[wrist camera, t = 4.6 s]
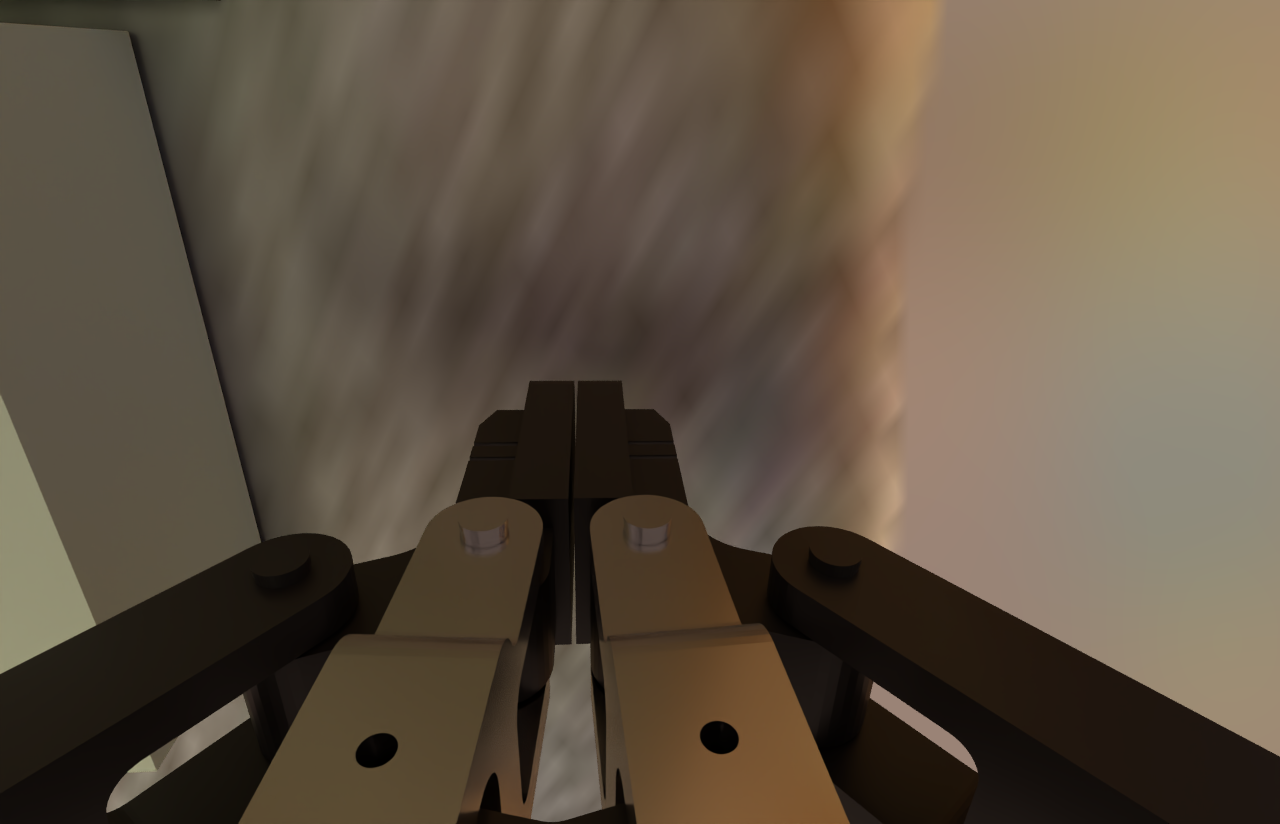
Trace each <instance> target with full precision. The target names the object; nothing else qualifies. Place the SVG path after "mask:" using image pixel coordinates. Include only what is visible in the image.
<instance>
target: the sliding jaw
mask: <svg viewBox="0 0 1280 824" xmlns="http://www.w3.org/2000/svg"><path fill="white" fill-rule="evenodd" d="M259 543H261V540H260V536H259V532H258V528H257V524H256V521H255V517H254V513H253V509H252V505H251V501H250V498H249V494H248V490H247V486H246V482H245V478H244V475H243V471H242V467H241V463H240V459H239V455H238V451H237V448H236V444H235V440H234V436H233V432H232V428H231V425H230V421H229V417H228V413H227V409H226V405H225V401H224V398H223V394H222V390H221V386H220V382H219V378H218V375H217V371H216V367H215V363H214V359H213V355H212V351H211V348H210V344H209V340H208V336H207V332H206V328H205V325H204V321H203V317H202V313H201V309H200V305H199V302H198V298H197V294H196V290H195V286H194V282H193V278H192V275H191V271H190V267H189V263H188V259H187V255H186V252H185V248H184V244H183V240H182V236H181V232H180V228H179V225H178V221H177V217H176V213H175V209H174V205H173V202H172V198H171V194H170V190H169V186H168V182H167V179H166V175H165V171H164V167H163V163H162V159H161V155H160V152H159V148H158V144H157V140H156V136H155V132H154V129H153V125H152V121H151V117H150V113H149V109H148V105H147V102H146V98H145V94H144V90H143V86H142V82H141V79H140V75H139V71H138V67H137V63H136V59H135V55H134V52H133V48H132V44H131V40H130V36H129V32H128V31H118V30H103V29H88V28H74V27H59V26H44V25H29V24H14V23H0V674H1V673H3V672H5V671H7V670H9V669H11V668H13V667H15V666H17V665H19V664H21V663H23V662H25V661H27V660H29V659H31V658H33V657H35V656H37V655H39V654H41V653H43V652H44V651H46V650H48V649H50V648H52V647H54V646H56V645H58V644H60V643H62V642H64V641H66V640H68V639H70V638H72V637H74V636H76V635H78V634H80V633H82V632H84V631H86V630H88V629H90V628H92V627H94V626H96V625H98V624H100V623H102V622H104V621H106V620H108V619H110V618H112V617H113V616H115V615H117V614H119V613H121V612H123V611H125V610H127V609H129V608H131V607H133V606H135V605H137V604H139V603H141V602H143V601H145V600H147V599H149V598H151V597H153V596H155V595H157V594H159V593H161V592H163V591H165V590H167V589H169V588H171V587H173V586H175V585H177V584H179V583H181V582H183V581H184V580H186V579H188V578H190V577H192V576H194V575H196V574H198V573H200V572H202V571H204V570H206V569H208V568H210V567H212V566H214V565H216V564H218V563H220V562H222V561H224V560H226V559H228V558H230V557H232V556H234V555H236V554H238V553H240V552H242V551H244V550H246V549H248V548H250V547H252V546H254V545H256V544H259ZM176 739H177V737H176V738H175V739H173V740H172V741H170V742H169V743H167V744H166V745H164V746H163V747H161V748H160V749H158V750H157V751H155V752H154V753H152V754H151V755H149V756H148V757H146V758H145V759H143V760H142V761H140V762H139V763H138V764H136V765H135V766H134V767H133V768H131V769H130V770H129V771H128V772H153V771H157V770H158V769H159V767H160V765H161V764H162V762H163V760H164V759H165V757H166V755H167V754H168V752H169V751H170V749H171V747H172V746H173V744H174V742H175V741H176Z"/></svg>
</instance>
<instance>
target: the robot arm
mask: <svg viewBox="0 0 1280 824" xmlns="http://www.w3.org/2000/svg"><path fill="white" fill-rule="evenodd" d="M574 544H575V591H576V644H589V643H590V648H591V702H592V712H593V722H594V733H595V743H596V753H597V764H598V774H599V784H600V795H601V805H602V810H599V811H595V812H592V813H589V814H585V815H582V816H579V817H575V818H572V819H569V820H565V821H560V822H543V821H538V820H533V819H531V814H532V808H533V801H534V795H535V788H536V782H537V776H538V769H539V763H540V756H541V750H542V743H543V737H544V731H545V724H546V718H547V711H548V705H549V698H550V679H549V678H550V676H551V673H552V671H553V666H554V653H555V645H563V644H571V643H572V610H573V577H574ZM873 681H874V682H875V683H876V684H878V685H879V686H881V687H882V688H884V689H885V690H887V691H889V692H890V693H891V694H893V695H894V696H896V697H897V698H899V699H900V700H902V701H903V702H905V703H906V704H907V705H909V706H911V707H912V708H913V709H915V710H916V711H918V712H919V713H921V714H922V715H924V716H925V717H927V718H928V719H930V720H931V721H933V722H934V723H936V724H937V725H939V726H940V727H942V728H943V729H944V730H946V731H947V732H949V733H950V734H951V735H953V736H954V737H955V738H956V739H958V740H959V741H960V742H961V743H962V744H963V745H964V747H965V748H966V749H967V750H968V752H969V753H970V755H971V756H972V758H973V760H974V762H975V765H976V767H977V770H978V773H977V772H976V771H974V770H972V769H971V768H970V767H968V766H967V765H965V764H964V763H962V762H961V761H959V760H958V759H957V758H955V757H954V756H952V755H951V754H949V753H948V752H947V751H945V750H943V749H942V748H941V747H939V746H938V745H937V744H935V743H934V742H932V741H931V740H929V739H928V738H926V737H925V736H923V735H922V734H921V733H919V732H918V731H916V730H915V729H913V728H912V727H911V726H909V725H908V724H906V723H905V722H904V721H902V720H901V719H899V718H898V717H896V716H895V715H893V714H892V713H891V712H889V711H888V710H886V709H885V708H883V707H882V706H881V705H879V704H878V703H876V702H875V701H873V700H872V699H871V698H870V693H871V689H872V684H873ZM241 694H243V696H244V699H245V702H246V705H247V708H248V712H249V715H250V718H249V719H248V720H246V721H245V722H243V723H242V724H240V725H239V726H238V727H236V728H235V729H233V730H232V731H230V732H229V733H227V734H226V735H225V736H223V737H222V738H220V739H219V740H217V741H216V742H214V743H213V744H212V745H210V746H209V747H207V748H206V749H204V750H203V751H201V752H200V753H199V754H197V755H196V756H194V757H193V758H191V759H190V760H188V761H187V762H186V763H184V764H183V765H181V766H180V767H178V768H177V769H175V770H174V771H173V772H171V773H170V774H168V775H167V776H165V777H164V778H162V779H161V780H160V781H158V782H157V783H155V784H154V785H152V786H151V787H149V788H148V789H147V790H145V791H144V792H142V793H141V794H139V795H138V796H136V797H135V798H134V799H132V800H131V801H129V802H128V803H126V804H125V805H123V806H121V807H120V808H118V809H116V810H114V811H111V812H108V813H106V807H107V803H108V800H109V797H110V795H111V793H112V791H113V789H114V788H115V786H116V785H117V784H118V782H119V781H120V779H121V778H122V777H123V776H124V775H125V774H126V773H127V772H128V771H129V770H130V769H131V768H133V767H134V766H135V765H136V764H138V763H139V762H140V761H142V760H143V759H145V758H146V757H148V756H149V755H151V754H152V753H154V752H155V751H157V750H158V749H160V748H161V747H163V746H164V745H166V744H167V743H169V742H170V741H172V740H173V739H175V738H176V737H178V736H179V735H181V734H182V733H184V732H185V731H187V730H188V729H190V728H191V727H193V726H194V725H196V724H198V723H199V722H201V721H202V720H204V719H205V718H207V717H208V716H210V715H211V714H213V713H214V712H216V711H217V710H219V709H220V708H222V707H223V706H225V705H226V704H228V703H229V702H231V701H232V700H234V699H235V698H237V697H238V696H240V695H241ZM0 824H1280V757H1279V756H1277V755H1276V754H1274V753H1272V752H1270V751H1268V750H1266V749H1264V748H1262V747H1260V746H1259V745H1256V744H1255V743H1253V742H1251V741H1249V740H1247V739H1245V738H1243V737H1242V736H1240V735H1238V734H1236V733H1234V732H1232V731H1230V730H1228V729H1226V728H1224V727H1222V726H1220V725H1219V724H1217V723H1215V722H1213V721H1211V720H1209V719H1207V718H1205V717H1204V716H1202V715H1200V714H1198V713H1196V712H1194V711H1192V710H1190V709H1189V708H1187V707H1185V706H1183V705H1181V704H1179V703H1177V702H1175V701H1173V700H1172V699H1170V698H1168V697H1166V696H1164V695H1162V694H1160V693H1158V692H1156V691H1154V690H1153V689H1151V688H1149V687H1147V686H1145V685H1143V684H1141V683H1139V682H1138V681H1136V680H1134V679H1132V678H1130V677H1128V676H1126V675H1124V674H1122V673H1120V672H1118V671H1116V670H1115V669H1113V668H1111V667H1109V666H1107V665H1105V664H1103V663H1102V662H1100V661H1098V660H1096V659H1094V658H1092V657H1090V656H1088V655H1086V654H1085V653H1082V652H1081V651H1079V650H1077V649H1075V648H1073V647H1071V646H1069V645H1068V644H1066V643H1064V642H1062V641H1060V640H1058V639H1056V638H1054V637H1052V636H1050V635H1049V634H1047V633H1044V632H1043V631H1041V630H1039V629H1037V628H1035V627H1033V626H1032V625H1030V624H1028V623H1026V622H1024V621H1022V620H1020V619H1018V618H1016V617H1014V616H1013V615H1011V614H1009V613H1007V612H1005V611H1003V610H1001V609H999V608H998V607H996V606H994V605H992V604H990V603H988V602H986V601H984V600H982V599H980V598H978V597H977V596H975V595H973V594H971V593H969V592H967V591H965V590H964V589H962V588H960V587H958V586H956V585H954V584H952V583H950V582H948V581H946V580H945V579H943V578H941V577H939V576H937V575H935V574H933V573H931V572H929V571H928V570H926V569H924V568H922V567H920V566H918V565H916V564H914V563H912V562H910V561H909V560H907V559H905V558H903V557H901V556H899V555H897V554H895V553H894V552H892V551H890V550H888V549H886V548H884V547H882V546H880V545H878V544H877V543H875V542H873V541H871V540H869V539H867V538H865V537H863V536H861V535H858V534H856V533H853V532H850V531H847V530H843V529H839V528H832V527H822V526H814V527H804V528H799V529H796V530H792V531H790V532H788V533H786V534H784V535H783V536H782V537H780V538H779V539H778V541H777V542H776V543H775V545H774V547H773V551H772V555H771V554H766V553H761V552H755V551H750V550H745V549H741V548H737V547H733V546H730V545H727V544H724V543H722V542H720V541H718V540H716V539H714V538H712V537H711V536H709V535H708V534H707V532H706V529H705V526H704V524H703V521H702V520H701V518H700V516H699V515H698V514H697V513H696V512H695V511H694V510H693V509H691V508H690V507H689V506H688V503H687V499H686V494H685V490H684V485H683V481H682V477H681V472H680V468H679V463H678V459H677V454H676V450H675V445H674V443H673V436H672V432H671V427H670V424H669V423H668V422H667V421H666V420H665V419H664V418H663V417H662V416H661V415H659V414H658V413H657V412H656V411H655V410H654V409H625V408H624V399H623V389H622V381H578V393H577V422H576V443H575V387H574V381H530V382H529V387H528V393H527V398H526V403H525V409H524V410H497V411H496V412H494V413H493V414H492V415H491V416H490V417H488V418H487V419H486V420H485V421H484V422H483V423H481V424H480V425H479V428H478V431H477V435H476V438H475V441H474V446H473V448H472V451H471V455H470V461H468V464H467V468H466V471H465V474H464V478H463V481H462V484H461V488H460V491H459V494H458V497H457V501H456V504H454V505H452V506H449V507H448V508H446V509H444V510H442V511H441V512H440V513H438V514H437V515H436V516H434V518H433V519H432V520H431V521H430V522H429V523H428V525H427V527H426V528H425V531H424V533H423V535H422V537H421V539H420V541H419V543H418V545H417V547H416V548H415V549H412V550H410V551H407V552H404V553H401V554H397V555H394V556H390V557H385V558H381V559H376V560H372V561H367V562H363V563H358V564H353V559H352V555H351V552H350V549H349V548H348V547H347V546H346V544H344V543H343V542H342V541H340V540H338V539H336V538H334V537H331V536H327V535H322V534H312V533H303V534H292V535H286V536H281V537H277V538H273V539H270V540H267V541H264V542H261V543H259V544H256V545H254V546H252V547H250V548H248V549H246V550H244V551H242V552H240V553H238V554H236V555H234V556H232V557H230V558H228V559H226V560H224V561H222V562H220V563H218V564H216V565H214V566H212V567H210V568H208V569H206V570H204V571H202V572H200V573H198V574H196V575H194V576H192V577H190V578H188V579H186V580H184V581H183V582H181V583H179V584H177V585H175V586H173V587H171V588H169V589H167V590H165V591H163V592H161V593H159V594H157V595H155V596H153V597H151V598H149V599H147V600H145V601H143V602H141V603H139V604H137V605H135V606H133V607H131V608H129V609H127V610H125V611H123V612H121V613H119V614H117V615H115V616H113V617H112V618H110V619H108V620H106V621H104V622H102V623H100V624H98V625H96V626H94V627H92V628H90V629H88V630H86V631H84V632H82V633H80V634H78V635H76V636H74V637H72V638H70V639H68V640H66V641H64V642H62V643H60V644H58V645H56V646H54V647H52V648H50V649H48V650H46V651H44V652H43V653H41V654H39V655H37V656H35V657H33V658H31V659H29V660H27V661H25V662H23V663H21V664H19V665H17V666H15V667H13V668H11V669H9V670H7V671H5V672H3V673H1V674H0Z"/></svg>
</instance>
